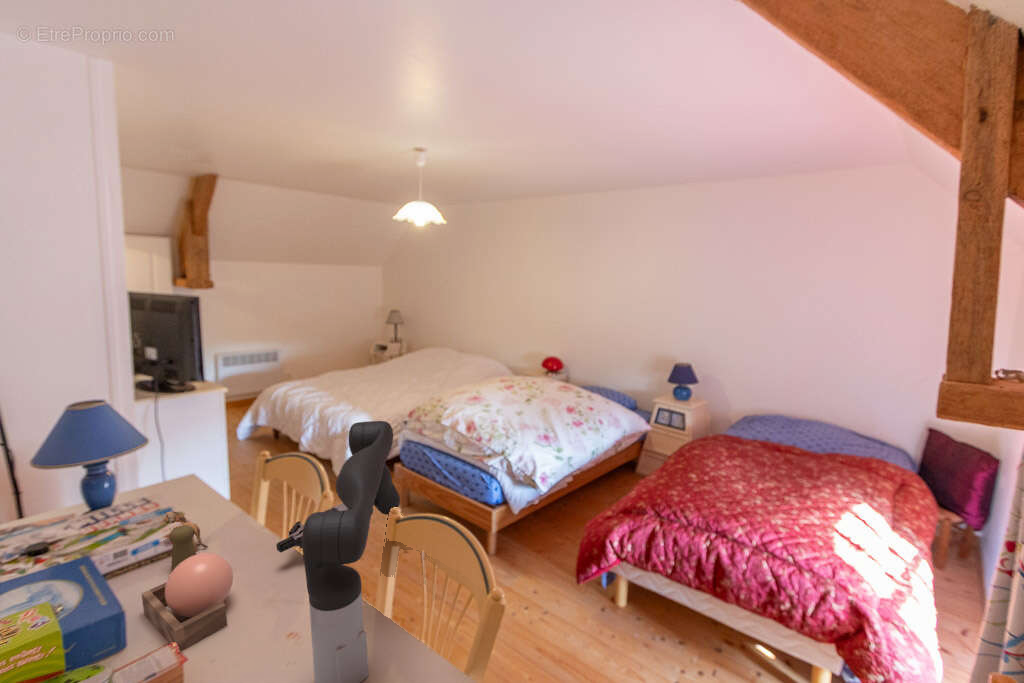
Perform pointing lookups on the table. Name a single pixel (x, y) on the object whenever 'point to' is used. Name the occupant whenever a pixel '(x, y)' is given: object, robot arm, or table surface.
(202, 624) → the stall
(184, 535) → the cork
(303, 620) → the table surface
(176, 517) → the lion figurine
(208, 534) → the table surface
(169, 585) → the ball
